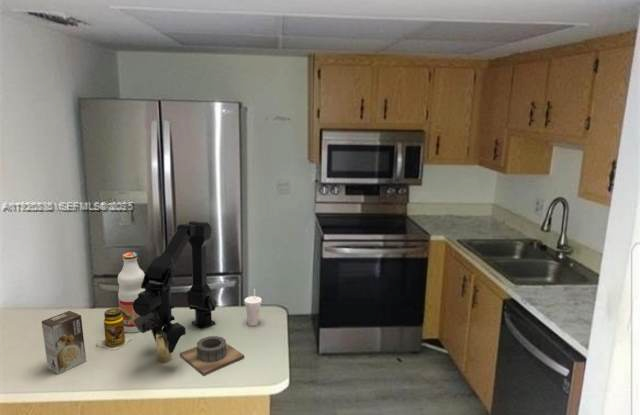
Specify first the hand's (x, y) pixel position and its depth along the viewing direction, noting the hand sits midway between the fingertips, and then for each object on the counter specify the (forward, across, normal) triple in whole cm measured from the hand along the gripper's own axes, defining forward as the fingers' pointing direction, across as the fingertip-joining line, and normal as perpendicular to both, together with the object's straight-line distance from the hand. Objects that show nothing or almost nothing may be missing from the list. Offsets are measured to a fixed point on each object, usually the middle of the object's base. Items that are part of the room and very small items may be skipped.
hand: (164, 347), depth 153 cm
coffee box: (+4, -17, -24) cm, 30 cm away
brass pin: (+4, 0, 0) cm, 4 cm away
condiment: (+4, -21, -8) cm, 23 cm away
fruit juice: (+4, -27, +2) cm, 27 cm away
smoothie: (+4, -1, +36) cm, 36 cm away
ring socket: (+4, +9, +12) cm, 16 cm away
